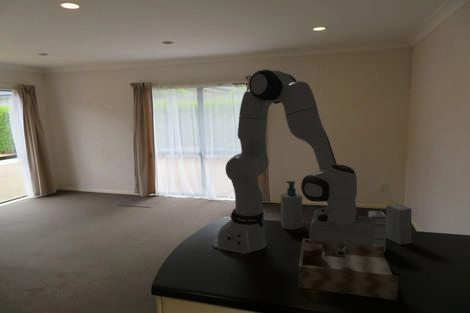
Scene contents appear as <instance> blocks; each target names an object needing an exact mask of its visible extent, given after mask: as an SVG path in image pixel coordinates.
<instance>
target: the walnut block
mask: <svg viewBox="0 0 470 313" xmlns="http://www.w3.org/2000/svg"><path fill="white" fill-rule="evenodd" d="M303 264H307V265H316V266H322V244H315V243H304V249H303Z"/></svg>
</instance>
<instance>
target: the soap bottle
mask: <svg viewBox="0 0 470 313" xmlns="http://www.w3.org/2000/svg"><path fill="white" fill-rule="evenodd" d="M285 183H287V184H288V188H287V189H286V191H287V192H285V193H280V224H281V227H282V228H283V229H284V230H285V229H286V230H292V231H294V230H298V229H301V228H302V227H303V196H302V195H301V194H300V193H298V192H296V189H297V188H295V184H296V181H294V180H288V181H287V180H286V181H285Z"/></svg>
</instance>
